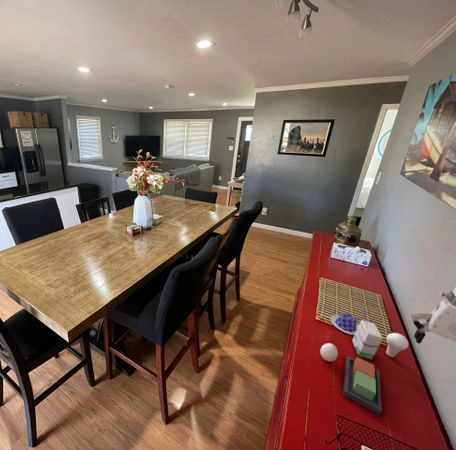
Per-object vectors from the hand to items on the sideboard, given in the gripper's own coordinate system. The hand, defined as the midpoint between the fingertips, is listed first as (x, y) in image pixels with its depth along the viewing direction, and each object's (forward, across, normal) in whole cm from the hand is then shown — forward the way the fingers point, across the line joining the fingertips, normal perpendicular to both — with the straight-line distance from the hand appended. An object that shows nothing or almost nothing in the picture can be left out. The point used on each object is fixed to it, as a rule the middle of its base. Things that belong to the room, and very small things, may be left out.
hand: (439, 349), depth 72 cm
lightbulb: (+24, -3, +20) cm, 32 cm away
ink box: (+24, -12, +16) cm, 32 cm away
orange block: (+24, -12, +1) cm, 27 cm away
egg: (+24, -23, +1) cm, 34 cm away
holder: (+24, -12, -3) cm, 27 cm away
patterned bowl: (+24, -18, +28) cm, 41 cm away
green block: (+24, -12, -5) cm, 27 cm away
